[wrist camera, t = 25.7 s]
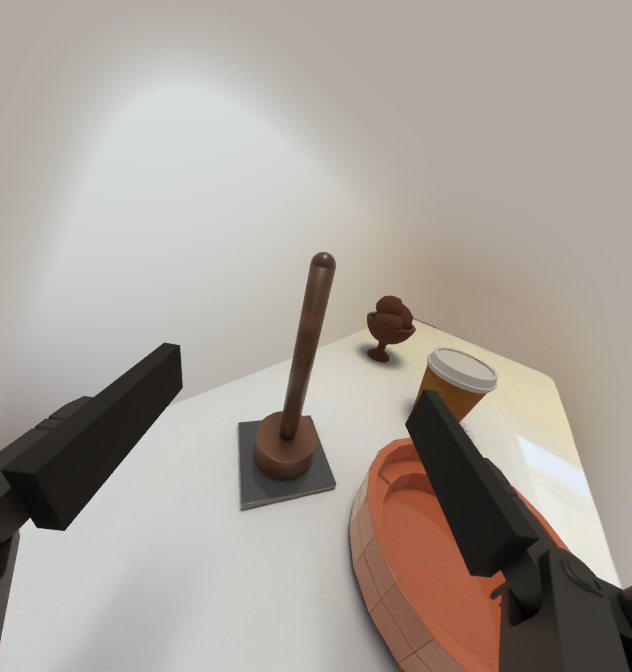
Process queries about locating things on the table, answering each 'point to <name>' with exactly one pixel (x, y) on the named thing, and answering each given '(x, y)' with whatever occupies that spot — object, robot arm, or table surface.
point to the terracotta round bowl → (422, 571)
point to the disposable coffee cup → (458, 379)
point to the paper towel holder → (297, 386)
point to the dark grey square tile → (268, 490)
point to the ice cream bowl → (389, 325)
